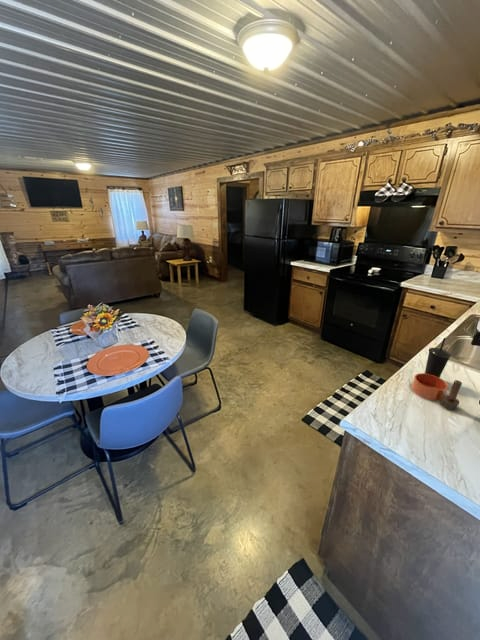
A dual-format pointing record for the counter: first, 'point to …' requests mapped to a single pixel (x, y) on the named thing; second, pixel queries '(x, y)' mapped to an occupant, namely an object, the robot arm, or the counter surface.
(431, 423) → the counter surface
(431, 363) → the drinking cup
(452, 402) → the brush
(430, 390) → the bowl
